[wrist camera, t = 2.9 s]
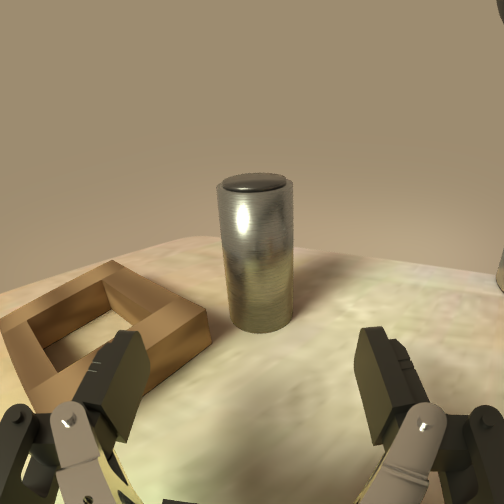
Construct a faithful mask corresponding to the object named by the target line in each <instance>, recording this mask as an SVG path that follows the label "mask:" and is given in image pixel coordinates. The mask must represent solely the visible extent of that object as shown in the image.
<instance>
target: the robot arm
mask: <svg viewBox="0 0 504 504" xmlns="http://www.w3.org/2000/svg"><path fill="white" fill-rule="evenodd" d="M497 6H498V10H499V14H500V17H501V19H502V21H503V23H504V0H497ZM496 280H497V283H498V285H499V286H500V288H501V289H502V291H503V292H504V250H503V253H502V257H501V261H500V264H499V267H498V271H497V274H496ZM354 372H355V377H356V380H357V384H358V388H359V391H360V395H361V399H362V403H363V406H364V410H365V414H366V418H367V422H368V426H369V430H370V434H371V439H372V443H373V446H376V445H382V444H383V446H384V450H385V452H384V454H383V456H382V458H381V459H380V461H379V463H378V465H377V467H376V468H375V470H374V472H373V473H372V475H371V477H370V478H369V480H368V482H367V483H366V485H365V487H364V488H363V490H362V491H361V493H360V494H359V496H358V497H357V499H356V500H355V502H354V503H353V504H421V501H422V499H423V497H424V495H425V493H426V491H427V488H428V485H429V480H427V478H428V475H429V472H430V471H438V474H439V478H440V482H441V487H442V492H443V496H444V501H445V504H504V419H503V417H502V415H501V413H500V412H499V411H498V410H497V409H496V408H494V407H492V406H488V405H482V406H479V407H477V408H475V409H474V410H473V411H472V413H471V414H470V415H448V414H445V413H444V411H443V410H442V409H441V408H440V407H439V406H437V405H435V404H432V403H430V401H429V399H428V397H427V395H426V392H425V390H424V388H423V385H422V383H421V381H420V379H419V376H418V374H417V372H416V370H415V369H414V365H413V363H412V361H410V357H409V355H408V353H407V350H406V348H405V347H404V346H403V345H402V344H401V343H400V342H399V341H397V340H396V339H388V337H387V335H386V333H385V331H384V329H383V327H382V326H379V327H368V328H362V329H361V330H360V334H359V339H358V343H357V348H356V353H355V357H354ZM149 375H150V360H149V357H148V354H147V352H146V349H145V346H144V343H143V340H142V337H141V334H140V333H139V332H138V331H126V330H119V331H118V332H117V334H116V335H115V337H114V339H113V341H112V343H108V342H107V343H106V344H105V345H104V346H103V347H102V348H101V349H99V350H98V352H97V353H96V355H95V357H94V359H93V361H92V363H91V364H90V366H89V368H88V371H87V372H86V374H85V376H84V377H83V379H82V381H81V383H80V385H79V387H78V389H77V391H76V393H75V395H74V397H73V399H72V401H68V402H64V403H61V404H60V405H58V406H57V407H56V408H55V409H54V410H53V412H52V413H36V414H34V413H33V412H32V410H31V409H30V408H29V407H28V406H27V405H25V404H15V405H13V406H11V407H10V408H9V409H8V410H7V411H6V412H5V414H4V416H3V418H2V420H1V422H0V504H54V503H55V500H56V496H57V493H58V489H59V488H60V491H61V494H62V497H63V500H64V503H65V504H144V503H143V502H142V500H141V499H140V498H139V496H138V495H137V494H136V492H135V491H134V489H133V487H132V486H131V484H130V482H129V480H128V478H127V475H126V473H125V471H124V469H123V467H122V465H121V463H120V461H119V458H118V456H117V454H116V452H115V450H114V445H115V442H116V441H117V442H122V443H127V440H128V437H129V434H130V431H131V428H132V425H133V422H134V419H135V416H136V413H137V410H138V407H139V404H140V401H141V398H142V395H143V392H144V389H145V386H146V384H147V381H148V378H149ZM28 454H30V455H31V459H30V461H29V464H28V467H27V469H26V472H25V475H24V478H23V481H22V480H21V472H22V469H23V467H24V464H25V461H26V459H27V456H28ZM162 504H197V503H188V502H181V501H174V500H167V499H163V502H162Z"/></svg>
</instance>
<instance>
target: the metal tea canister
mask: <svg viewBox="0 0 504 504" xmlns="http://www.w3.org/2000/svg"><path fill="white" fill-rule="evenodd" d="M216 189H217V199H218V210H219V220H220V228H221V229H220V230H221V239H222V249H223V258H224V267H225V276H226V285H227V294H228V302H229V311H230V318H231V321H232V322H233V324H234V325H235V326H236V327H238V328H239V329H241V330H244V331H246V332H250V333H269V332H273V331H276V330H279V329H281V328H283V327H284V326H286V325H287V324H288V323H289V322H290V320H291V318H292V314H293V183H292V181H290V180H288V179H286V177H284V176H282V175H278V174H272V173H248V174H241V175H236V176H232V177H229V178H226V179H225V180H223V182H222V183H220V184H218V185H217V187H216Z"/></svg>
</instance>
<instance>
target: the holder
mask: <svg viewBox="0 0 504 504" xmlns="http://www.w3.org/2000/svg"><path fill="white" fill-rule="evenodd" d="M110 309H112V310H113V311H115V312H116V313H117V314H119V315H120V316H121V317H122V318H124V319H125V320H126V321H128V322H129V323H130V324H131V325H133V326H132V327H131V328H129V329H127V330H126V331H138V332H139V333H140V334H141V337H142V340H143V343H144V346H145V349H146V352H147V354H148V357H149V360H150V375H149V378H148V381H147V384H146V386H145V389H144V392H143V395H145V394H146V393H147V392H149V391H150V390H152V389H153V388H154V387H156V386H157V385H158V384H160V383H161V382H162V381H164V380H165V379H166V378H167V377H169V376H170V375H171V374H173V373H174V372H175V371H177V370H178V369H179V368H181V367H182V366H183V365H185V364H186V363H187V362H188V361H190V360H191V359H192V358H194V357H195V356H196V355H197V354H199V353H200V352H201V351H203V350H204V349H205V348H206V347H208V346H209V345H210V344H211V343H212V341H211V336H210V330H209V325H208V319H207V314H206V309H205V308H203V307H201V306H199V305H197V304H195V303H193V302H191V301H189V300H187V299H185V298H183V297H181V296H179V295H177V294H175V293H173V292H171V291H169V290H167V289H165V288H163V287H161V286H159V285H158V284H156V283H154V282H152V281H150V280H148V279H146V278H144V277H143V276H141V275H139V274H137V273H135V272H133V271H132V270H130V269H128V268H126V267H124V266H122V265H121V264H119V263H117V262H115V261H114V260H111V261H109V262H107V263H105V264H103V265H101V266H99V267H97V268H95V269H93V270H91V271H89V272H87V273H85V274H83V275H81V276H79V277H77V278H75V279H73V280H71V281H69V282H67V283H65V284H63V285H61V286H60V287H58V288H56V289H54V290H52V291H50V292H48V293H46V294H44V295H43V296H41V297H39V298H37V299H35V300H33V301H31V302H30V303H28V304H26V305H24V306H22V307H20V308H19V309H17V310H15V311H13V312H11V313H10V314H8V315H6V316H4V317H3V318H1V319H0V331H1V334H2V336H3V339H4V342H5V345H6V347H7V350H8V353H9V355H10V358H11V360H12V363H13V365H14V368H15V370H16V372H17V375H18V377H19V379H20V381H21V384H22V386H23V388H24V390H25V392H26V394H27V396H28V398H29V400H30V402H31V404H32V406H33V408H34V410H35V412H36V413H52V412H53V410H54V409H55V408H56V407H57V406H58V405H60V404H61V403H64V402H68V401H72V399H73V397H74V395H75V393H76V391H77V389H78V387H79V385H80V383H81V381H82V379H83V377H84V376H85V374H86V372H87V371H88V368H89V366H90V364H91V363H92V361H93V359H94V357H95V355H96V353H97V352H98V350H99V349H101V348H102V347H103V346H104V345H105V344H106V343H105V344H104V345H102V346H100V347H99V348H97V349H96V350H94V351H92V352H91V353H89V354H88V355H86V356H84V357H83V358H81V359H80V360H78V361H76V362H75V363H73V364H72V365H70V366H68V367H67V368H65V369H64V370H62V371H60V372H59V373H57V371H56V370H55V368H54V366H53V365H52V363H51V362H50V360H49V359H48V357H47V355H46V354H45V352H44V350H43V349H44V348H46V347H47V346H49V345H51V344H52V343H54V342H56V341H57V340H59V339H61V338H63V337H64V336H66V335H68V334H69V333H71V332H73V331H74V330H76V329H78V328H79V327H81V326H83V325H85V324H86V323H88V322H90V321H91V320H93V319H95V318H97V317H98V316H100V315H102V314H103V313H105V312H107V311H109V310H110ZM113 339H114V338H113ZM113 339H111V340H110V341H108V343H112V341H113ZM143 395H142V396H143Z"/></svg>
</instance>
